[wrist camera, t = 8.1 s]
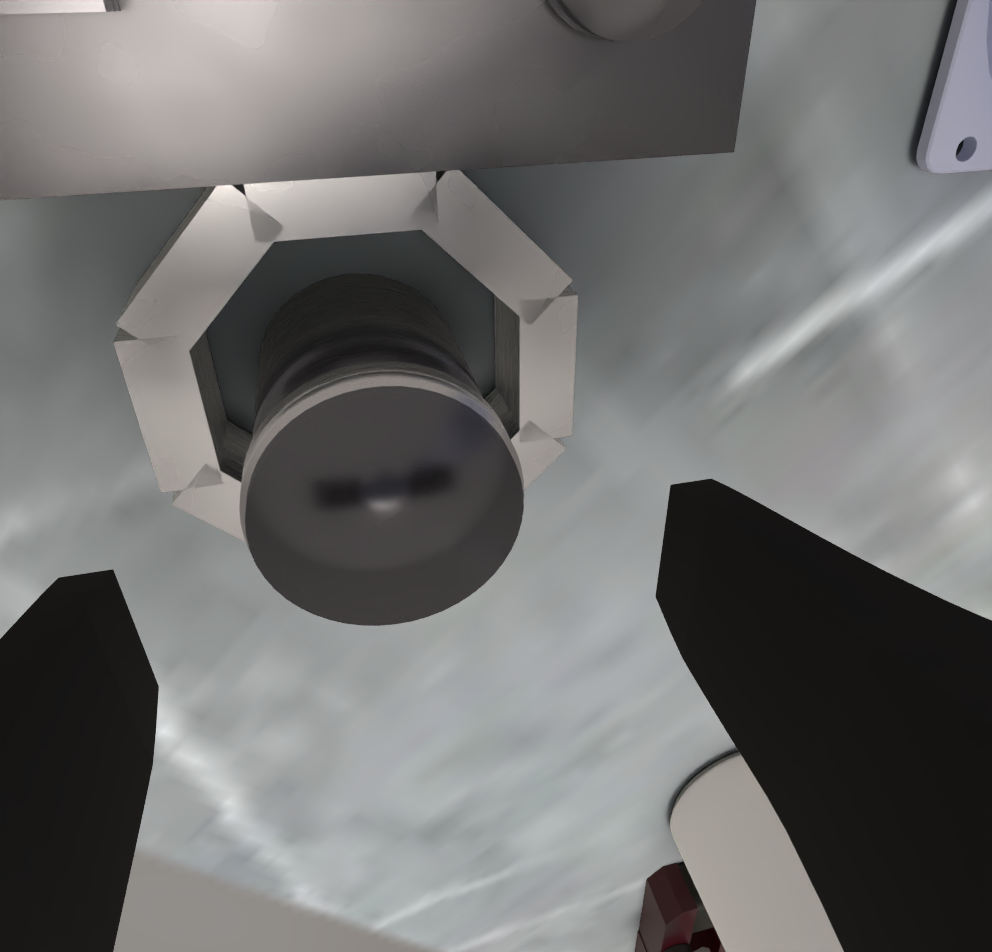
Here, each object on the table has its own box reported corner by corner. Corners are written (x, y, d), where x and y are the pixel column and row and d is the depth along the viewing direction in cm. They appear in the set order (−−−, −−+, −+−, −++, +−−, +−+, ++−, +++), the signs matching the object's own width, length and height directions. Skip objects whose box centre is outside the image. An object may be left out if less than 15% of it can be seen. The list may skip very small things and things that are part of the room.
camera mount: (684, -278, 12) (861, -402, 8) (618, 478, 20) (693, 585, 16) (-235, -329, 10) (-557, -535, 6) (107, 556, 18) (62, 702, 14)
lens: (485, 295, 16) (567, 417, 12) (432, 473, 19) (483, 641, 14) (271, 246, 15) (261, 362, 10) (241, 446, 17) (219, 625, 12)
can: (828, 726, 29) (1102, 1090, 19) (789, 822, 33) (1005, 1173, 23) (678, 756, 28) (892, 1165, 18) (654, 854, 31) (823, 1242, 22)
